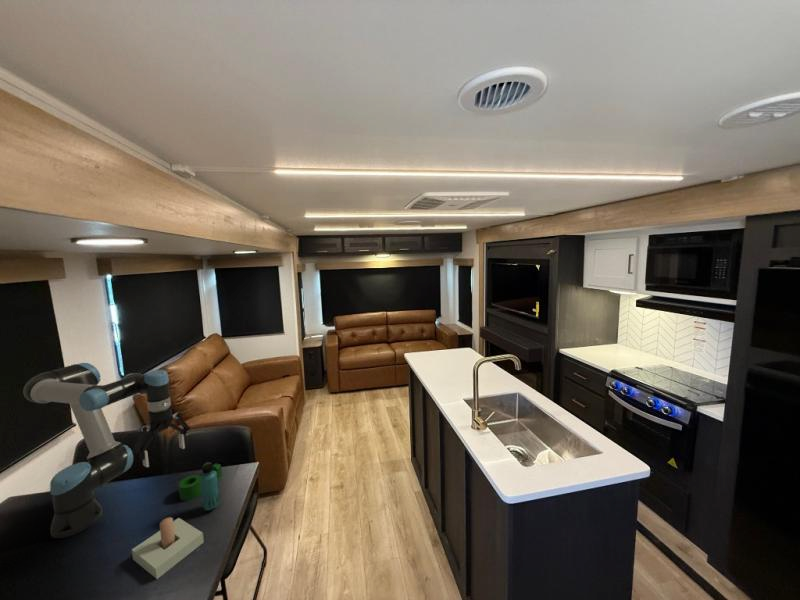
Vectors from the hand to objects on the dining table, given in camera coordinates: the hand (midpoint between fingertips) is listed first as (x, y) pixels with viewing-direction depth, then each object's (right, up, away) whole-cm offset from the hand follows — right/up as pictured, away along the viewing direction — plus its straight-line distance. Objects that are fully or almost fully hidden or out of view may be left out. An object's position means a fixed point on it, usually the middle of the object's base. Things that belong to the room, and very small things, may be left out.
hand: (165, 456), depth 133 cm
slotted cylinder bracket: (+2, -25, +20) cm, 32 cm away
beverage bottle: (+15, -26, +7) cm, 31 cm away
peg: (+12, -29, -13) cm, 34 cm away
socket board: (+12, -29, -13) cm, 34 cm away
